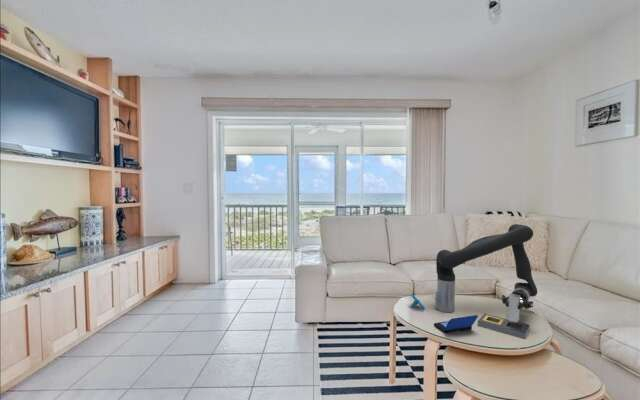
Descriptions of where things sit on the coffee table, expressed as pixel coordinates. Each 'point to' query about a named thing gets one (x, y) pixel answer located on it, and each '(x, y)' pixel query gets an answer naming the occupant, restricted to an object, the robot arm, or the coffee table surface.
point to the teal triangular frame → (416, 302)
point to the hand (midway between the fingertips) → (513, 306)
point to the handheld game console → (456, 324)
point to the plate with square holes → (504, 325)
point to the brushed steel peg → (513, 307)
